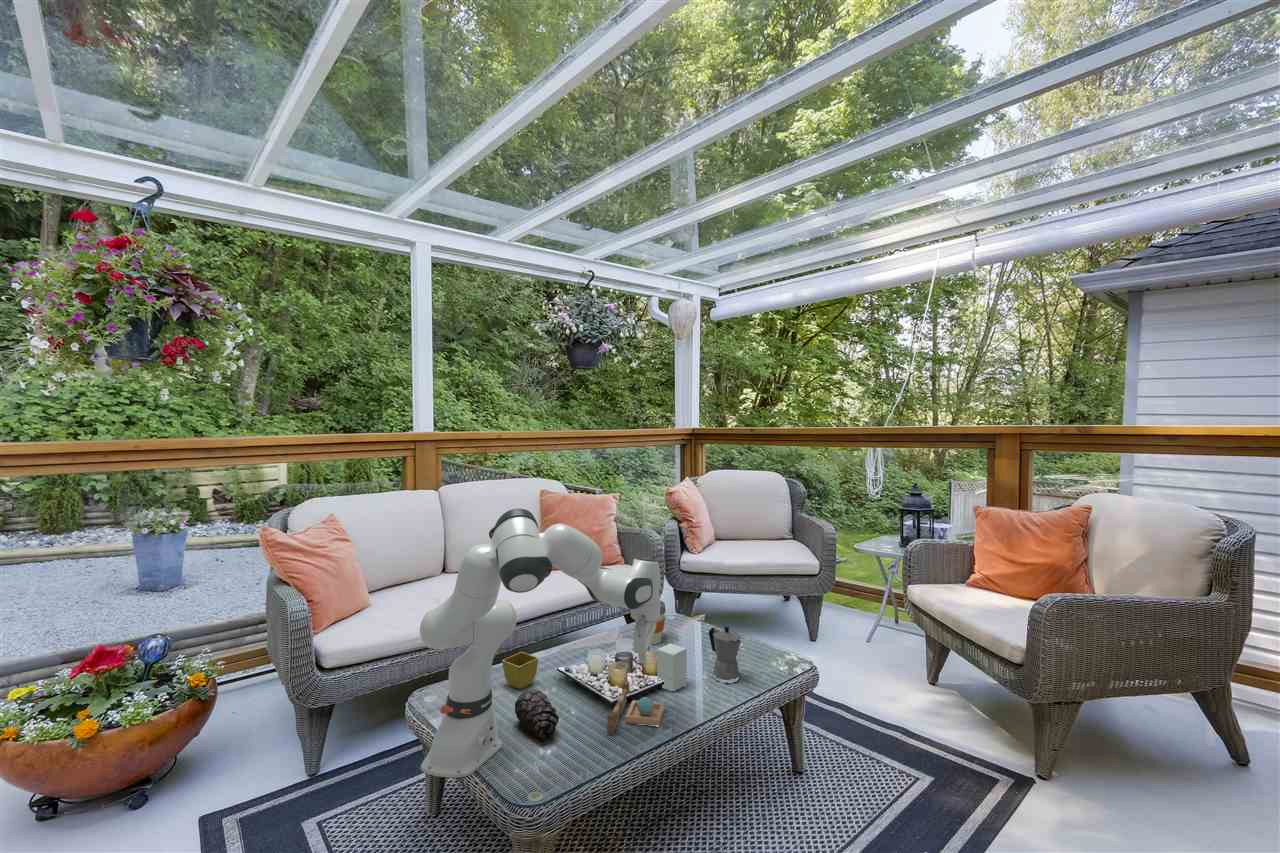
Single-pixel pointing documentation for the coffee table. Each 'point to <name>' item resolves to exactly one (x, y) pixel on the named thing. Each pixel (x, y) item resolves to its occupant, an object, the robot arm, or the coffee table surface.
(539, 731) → the pine cone
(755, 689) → the coffee table surface
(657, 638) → the reusable coffee cup
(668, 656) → the supplement box
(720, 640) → the coffeepot
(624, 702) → the fence
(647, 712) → the ball
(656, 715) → the wooden tray
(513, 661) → the flower pot
